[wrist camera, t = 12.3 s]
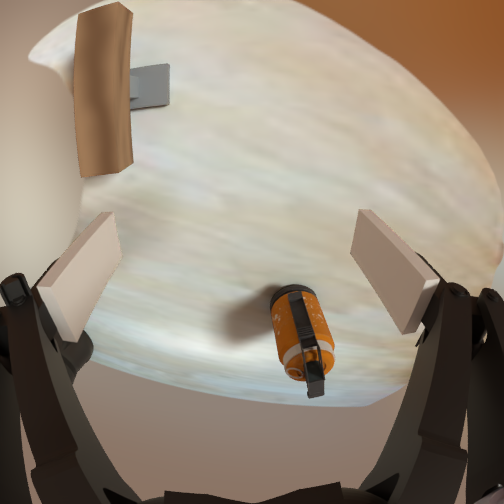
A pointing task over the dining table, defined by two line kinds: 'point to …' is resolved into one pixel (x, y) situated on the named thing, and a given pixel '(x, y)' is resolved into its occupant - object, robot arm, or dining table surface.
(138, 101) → the fulcrum
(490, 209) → the dining table surface
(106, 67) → the walnut bar
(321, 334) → the canister
